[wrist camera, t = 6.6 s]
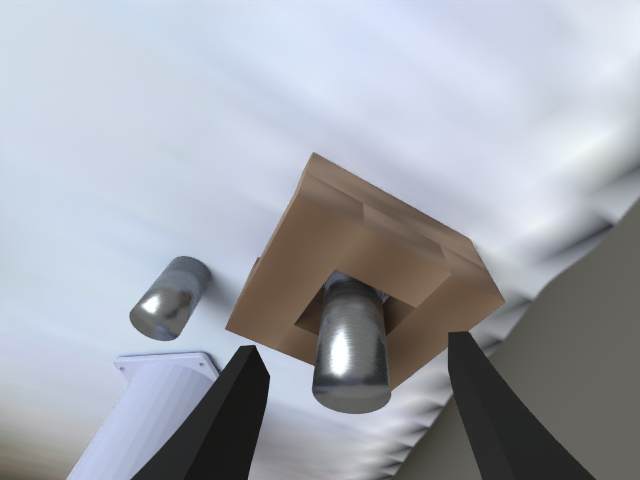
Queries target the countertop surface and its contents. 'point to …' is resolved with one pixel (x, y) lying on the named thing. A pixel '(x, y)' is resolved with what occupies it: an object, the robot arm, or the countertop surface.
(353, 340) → the tall pin
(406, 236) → the hole bridge
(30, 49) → the countertop surface
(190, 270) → the short pin
